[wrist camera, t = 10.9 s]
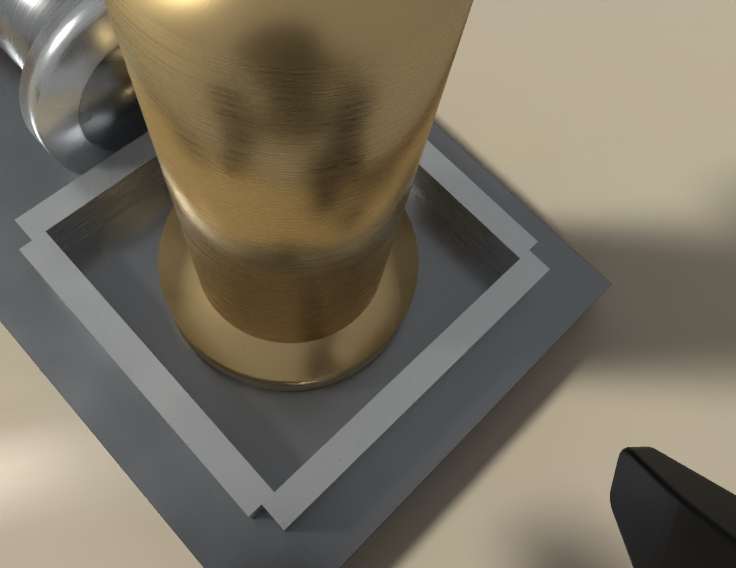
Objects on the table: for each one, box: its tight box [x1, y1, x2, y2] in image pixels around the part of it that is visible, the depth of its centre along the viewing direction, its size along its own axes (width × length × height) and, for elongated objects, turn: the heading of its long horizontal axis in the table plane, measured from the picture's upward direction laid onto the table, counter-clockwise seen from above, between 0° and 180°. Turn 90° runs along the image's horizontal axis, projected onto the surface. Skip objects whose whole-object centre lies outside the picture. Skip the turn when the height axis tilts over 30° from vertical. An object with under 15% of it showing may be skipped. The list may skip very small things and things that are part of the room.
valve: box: [104, 0, 473, 391], centre depth 13 cm, size 8×7×14 cm
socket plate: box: [0, 0, 611, 568], centre depth 18 cm, size 20×14×7 cm
